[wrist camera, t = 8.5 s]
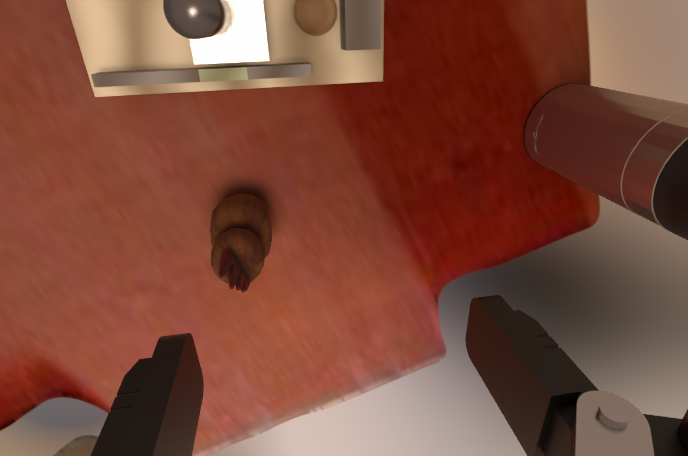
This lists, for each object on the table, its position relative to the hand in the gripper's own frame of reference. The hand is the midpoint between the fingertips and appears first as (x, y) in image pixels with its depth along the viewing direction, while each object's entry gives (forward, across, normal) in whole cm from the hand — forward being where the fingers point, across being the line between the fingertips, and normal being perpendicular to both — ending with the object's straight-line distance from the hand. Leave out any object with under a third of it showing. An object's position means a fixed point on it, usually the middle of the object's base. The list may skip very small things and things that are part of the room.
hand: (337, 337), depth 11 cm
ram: (+30, +5, -9) cm, 32 cm away
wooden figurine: (+32, +6, +10) cm, 34 cm away
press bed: (+32, +4, -9) cm, 33 cm away
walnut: (+31, -3, -9) cm, 32 cm away
